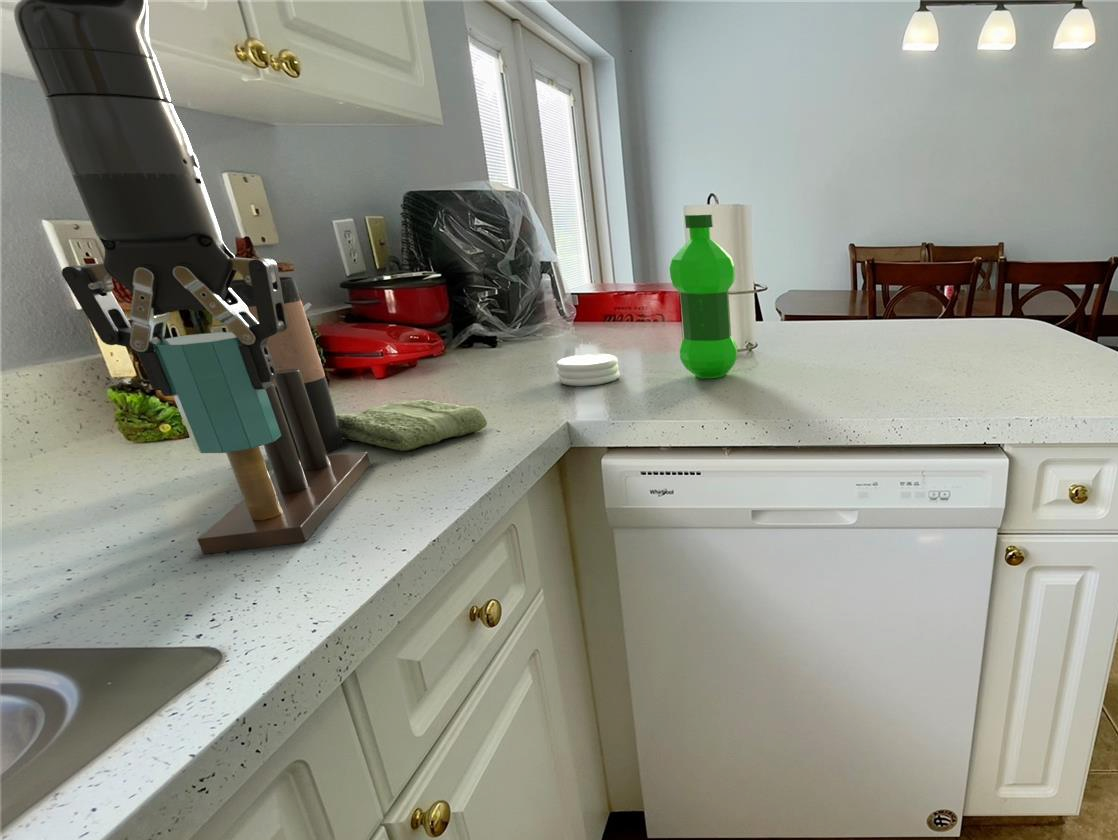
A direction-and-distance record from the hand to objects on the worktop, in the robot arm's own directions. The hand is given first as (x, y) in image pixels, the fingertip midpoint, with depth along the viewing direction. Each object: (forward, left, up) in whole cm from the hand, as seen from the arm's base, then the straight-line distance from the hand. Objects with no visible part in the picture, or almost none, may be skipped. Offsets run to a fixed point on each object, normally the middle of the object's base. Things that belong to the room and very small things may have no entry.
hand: (220, 390), depth 61 cm
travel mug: (-5, +27, -13) cm, 31 cm away
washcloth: (+6, +30, -13) cm, 33 cm away
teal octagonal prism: (0, 0, -5) cm, 5 cm away
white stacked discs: (+29, +54, -13) cm, 63 cm away
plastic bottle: (+49, +50, -13) cm, 71 cm away
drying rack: (0, +7, -13) cm, 15 cm away
